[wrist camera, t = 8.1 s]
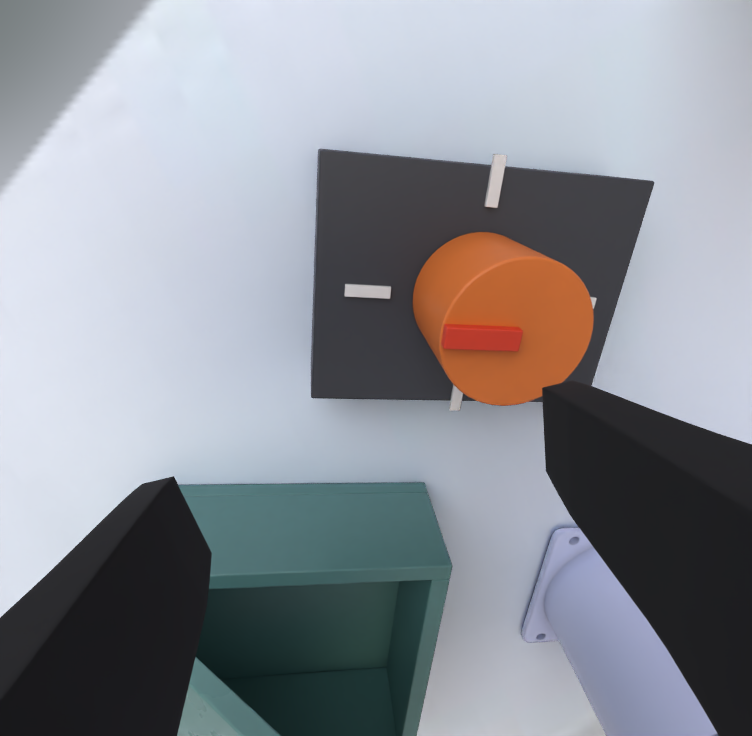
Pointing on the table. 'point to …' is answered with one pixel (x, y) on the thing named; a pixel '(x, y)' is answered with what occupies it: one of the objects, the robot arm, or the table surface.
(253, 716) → the lid
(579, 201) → the thermostat box
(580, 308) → the dial
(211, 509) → the teal hollow box
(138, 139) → the table surface
